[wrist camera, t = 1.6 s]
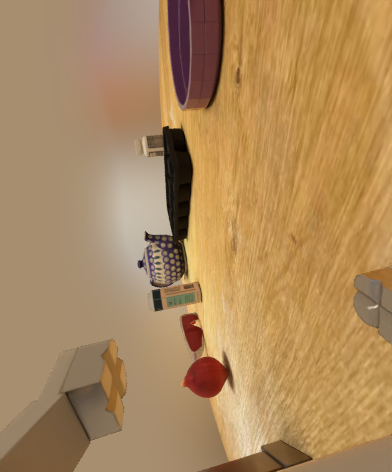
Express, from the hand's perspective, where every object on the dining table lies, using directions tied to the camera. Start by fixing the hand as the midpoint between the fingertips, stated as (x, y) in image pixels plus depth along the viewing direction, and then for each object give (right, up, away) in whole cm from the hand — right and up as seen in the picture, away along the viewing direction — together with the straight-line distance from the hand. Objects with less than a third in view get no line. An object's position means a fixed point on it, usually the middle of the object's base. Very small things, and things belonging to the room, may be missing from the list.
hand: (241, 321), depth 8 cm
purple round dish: (-1, +25, +20) cm, 32 cm away
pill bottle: (-8, +28, +62) cm, 69 cm away
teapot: (-5, -4, +74) cm, 74 cm away
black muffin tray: (-4, +13, +51) cm, 53 cm away
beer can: (0, -10, +52) cm, 53 cm away
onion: (+4, -20, +34) cm, 39 cm away
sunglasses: (0, -27, +63) cm, 69 cm away
